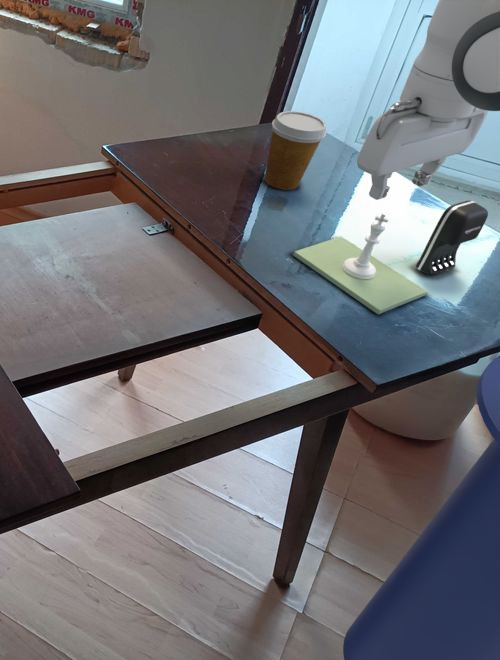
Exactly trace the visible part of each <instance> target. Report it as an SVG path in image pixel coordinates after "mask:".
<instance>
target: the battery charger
mask: <svg viewBox="0 0 500 660" xmlns="http://www.w3.org/2000/svg"><path fill="white" fill-rule="evenodd" d="M488 217H489V211H488V209H486V208H485V207H484V206H482V205H480V204H479V203H477V202H476V201H474V200H465V201H460V202H457V203H455V204H451V205H449V206H448V207H447V208H446V209H445V210H444V211H443V212H442V215H441V216H440V218H439V219H438V222H437V224H436V225H435V227H434V229H433V230H432V233H431V235H430V236H429V239H428V241H427V243H426V245H425V248H424V250H423V251H422V254H421V256H420V257H419V259H418V261H417V262H416V265H415V268H416V269H417V270H418V271H421V272H422V273H424V274H426V275H428V276H433V277H435V276H437V275H440V274H443V273H447V272H449V271H452V270H454V269H455V267H456V261H457V260H456V257H457V252H458V249H459V247H460V246H461V244H464V243H466V242H470V241H473V240H475V239H477V238H478V237H479V234H480V233H481V231H482V229H483V227H484V225H485V224H486V221H487V220H488Z"/></svg>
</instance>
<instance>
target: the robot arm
mask: <svg viewBox="0 0 500 660" xmlns="http://www.w3.org/2000/svg"><path fill="white" fill-rule="evenodd" d="M489 112H500V0H438V2H437V4H436V6H435V8H434V11H433V14H432V15H431V18H430V21H429V23H428V25H427V30H426V39H425V42H424V45H423V47H422V48H421V51H420V52H419V53H418V54H417V56H416V57H415V59H414V61H413V64H412V66H411V69H410V71H409V73H408V76H407V79H406V82H405V84H404V86H403V89H402V92H401V94H400V96H399V101H397V102H394V103H393V104H391V106H390V108H388V109H387V111H385V112H383V113H382V114H380V115H379V116H378V117H377V118H376V119H375V121H374V123H373V124H372V126H371V128H370V130H369V132H368V134H367V135H366V138H365V140H364V142H363V144H362V146H361V149H360V151H359V153H358V156H357V158H356V165H357V168H358V169H360V170H362V171H363V172H365V173H367V174H369V175H370V179H371V186H370V189H369V192H368V195H369V198H370V197H371V198H372V199H374V200H375V201H378V200H382V199H385V198H386V197H387V196H388V193H389V191H390V189H391V188H390V186H388V179H390V178H391V177H392V175H393V173H395V172H399V171H402V170H405V169H409V168H413V167H416V166H420V165H421V167H420V168H419V170H416V171H415V173H414V175H413V177H412V179H411V183H412V184H413V185H415V186H417V187H424V186H427V185H429V184H430V182H431V180H432V178H433V176H434V175H435V174H436V172H437V171H438V170H439V169H440V168H441V167H442V165H443V164H444V163H445V161H446V159H447V158H449V157H451V156H455V155H459V154H462V153H464V152H465V151H466V150H467V149H468V148H469V147H470V146H471V145H472V143H473V142H474V140H475V139H476V137H477V135H478V133H479V131H480V130H481V128H482V126H483V124H484V122H485V120H486V118H487V116H488V113H489Z"/></svg>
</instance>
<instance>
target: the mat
mask: <svg viewBox="0 0 500 660" xmlns="http://www.w3.org/2000/svg"><path fill="white" fill-rule="evenodd" d="M362 251H363V249H362V248H360V247H358V246H356V245H355V244H353V243H352V242H350V241H349V240H348V239H346V238H345V237H343V236H337V237H334V238H331V239H328V240H326V241H325V240H324V241H321V242H319V243H315V244H313V245H310V246H306V247H304V248H301V249H297V250H294V251H293V254H292V256H293V257H295V258H296V259H297V260H298V261H300V262H301V263H303V264H305V265H306V266H308V267H309V268H310V269H312V270H313V271H315V272H316V273H318V274H319V275H321V276H322V277H323V278H325V279H326V280H328V282H331V283H332V284H334V285H335V286H337V287H338V288H339V289H340V290H342V291H344V293H346V294H348V295H349V296H351V297H352V298H354V299H355V300H356V301H357V302H359V303H360V304H362V305H364V306H365V307H366V308H368V309H369V310H371V311H372V312H374V313H375V314H377V315H381V314H383V313H385V312H388V311H390V310H393V309H395V308H397V307H400V306H402V305H405V304H407V303H410V302H412V301H415V300H417V299H420V298H422V297H425V296H426V295H427V293H428V290H426V289H425V288H424V287H421V286H420V285H418V284H417V283H415V282H413V281H412V280H410V279H409V278H408V277H406V276H404V275H402V274H401V273H399V272H398V271H396V270H395V269H393V268H392V267H390V266H388V265H387V264H386V263H384V262H382V261H380V260H379V259H378V258H377V257H375V256H373V255H372V254H371V255H370V259H369V262H370V263H371V264H372V265H373V266H374V267H375V268H376V273H375V276H374V277H373V278H371V279H359V278H355V277H353V276H351V275H349V274H347V273H346V272H345V271H344V270H343V268H342V265H343V263H344V262H345V260H347V259H349V258H357V257H359V255H360V254H361V252H362Z"/></svg>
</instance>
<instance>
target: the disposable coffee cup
mask: <svg viewBox="0 0 500 660" xmlns="http://www.w3.org/2000/svg"><path fill="white" fill-rule="evenodd" d="M271 127H272V133H271V138H270V144H269V149H268V150H269V151H268V156H267V162H266V169H265V173H264V177H263V178H264V182H265V184H267V185H269V186H270V187H272V188H275V189H279V190H284V191H290V190H295V189H297V188H298V187H299V185H300V182H301V181H302V178H303V176H304V175H305V173H306V170H307V169H308V167H309V165H310V163H311V161H312V159H313V157H314V156H315V153H316V151H317V149H318V147H319V145H320V143H321V142H322V141H323V139H324V138H325V137H326V135H327V124H326V122H325V121H324V120H323V119H322V118H320V117H318V116H316V115H314V114H311V113H307V112H303V111H296V110H288V111H282V112H279V113H278V114H277V115H276V117H275V118H274V119H273V120H272V123H271Z"/></svg>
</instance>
